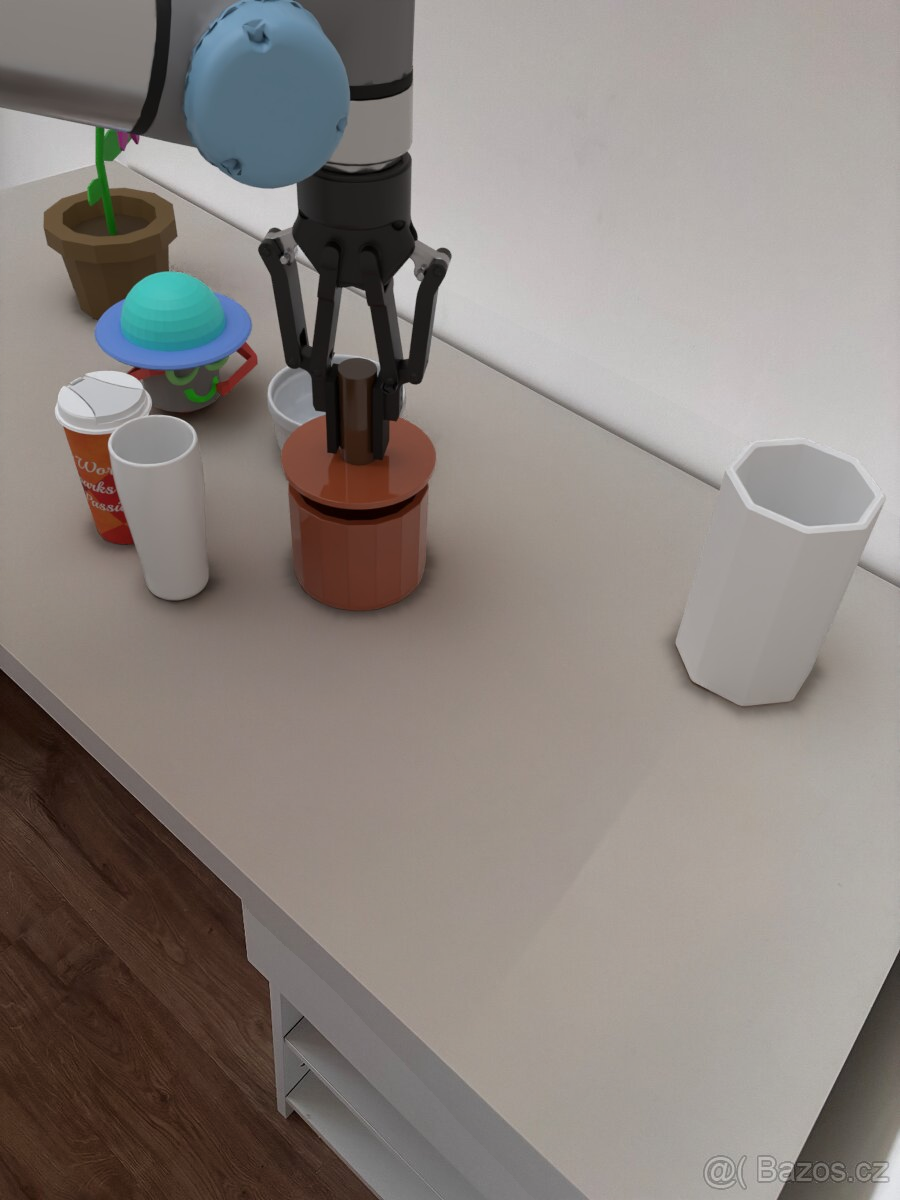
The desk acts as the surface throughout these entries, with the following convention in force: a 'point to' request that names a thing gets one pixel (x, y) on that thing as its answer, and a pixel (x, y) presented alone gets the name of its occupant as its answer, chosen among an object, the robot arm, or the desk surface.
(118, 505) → the paper cup
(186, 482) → the white plastic tumbler
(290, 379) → the ramekin
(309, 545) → the jar
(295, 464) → the lid
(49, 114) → the robot arm
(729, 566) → the cup
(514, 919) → the desk surface
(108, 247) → the flowerpot
